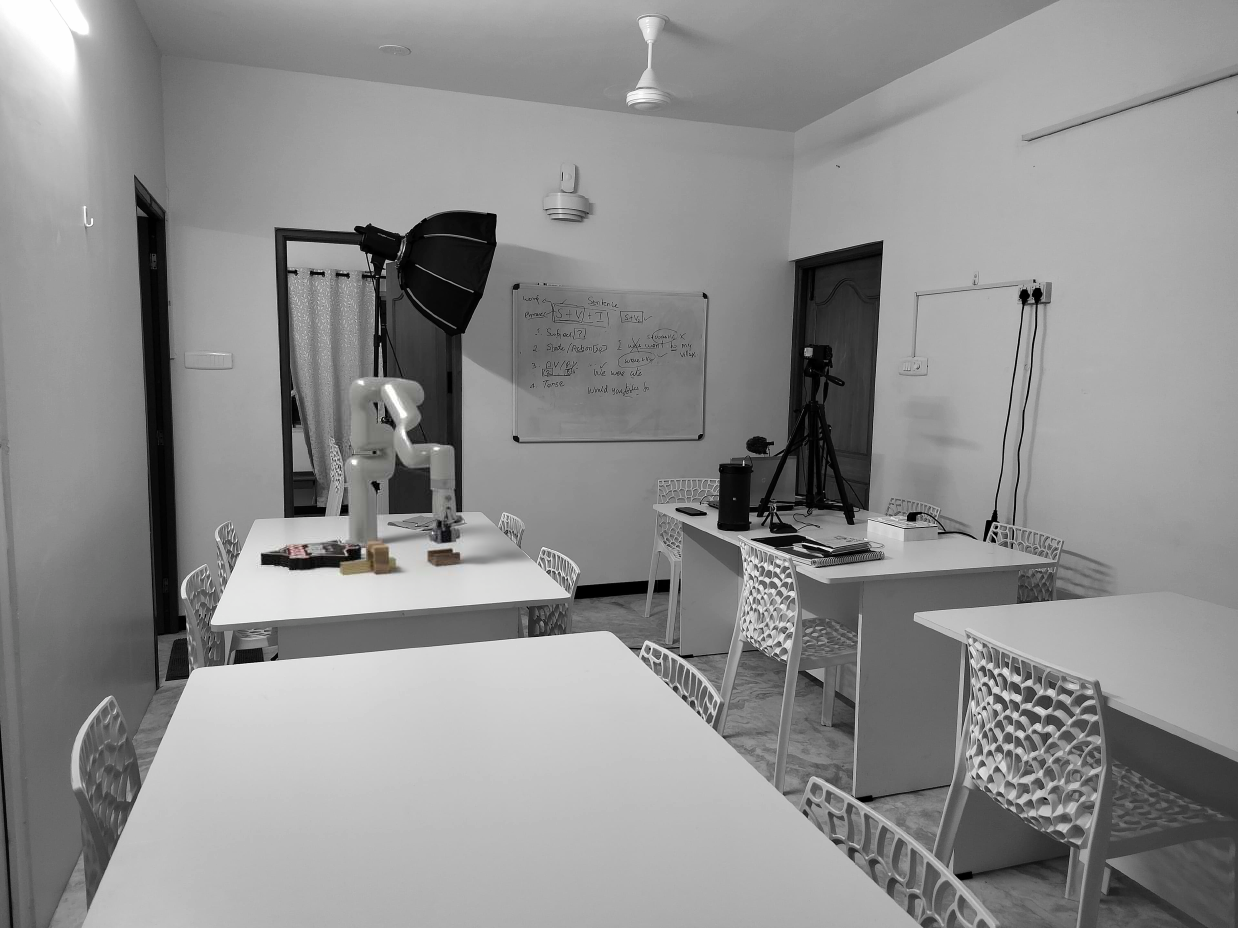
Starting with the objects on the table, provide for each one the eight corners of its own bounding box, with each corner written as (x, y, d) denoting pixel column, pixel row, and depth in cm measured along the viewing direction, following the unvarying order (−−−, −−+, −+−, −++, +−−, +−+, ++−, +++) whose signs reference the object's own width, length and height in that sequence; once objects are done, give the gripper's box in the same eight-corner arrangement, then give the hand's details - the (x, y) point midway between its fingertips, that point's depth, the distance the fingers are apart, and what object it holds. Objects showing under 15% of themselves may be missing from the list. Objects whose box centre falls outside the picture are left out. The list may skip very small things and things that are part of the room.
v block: (427, 561, 261) (427, 550, 261) (451, 558, 265) (451, 548, 265) (435, 566, 254) (435, 555, 254) (460, 563, 258) (460, 552, 258)
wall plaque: (366, 554, 253) (261, 562, 241) (367, 567, 254) (262, 576, 241) (355, 538, 279) (259, 545, 266) (355, 550, 279) (260, 557, 266)
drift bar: (342, 575, 242) (342, 564, 242) (340, 573, 245) (339, 562, 245) (396, 570, 250) (395, 558, 250) (393, 567, 253) (392, 556, 253)
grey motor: (433, 544, 255) (432, 530, 255) (428, 542, 259) (428, 528, 258) (460, 541, 260) (460, 528, 259) (455, 539, 263) (455, 525, 263)
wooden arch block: (366, 566, 253) (365, 541, 252) (379, 565, 255) (378, 540, 254) (375, 574, 243) (375, 548, 242) (389, 572, 245) (388, 546, 244)
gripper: (463, 486, 252) (464, 544, 254) (445, 481, 266) (446, 535, 268) (440, 487, 248) (441, 546, 250) (422, 482, 263) (424, 538, 264)
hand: (443, 540), depth 259 cm, fingers closed on grey motor, 4 cm apart
